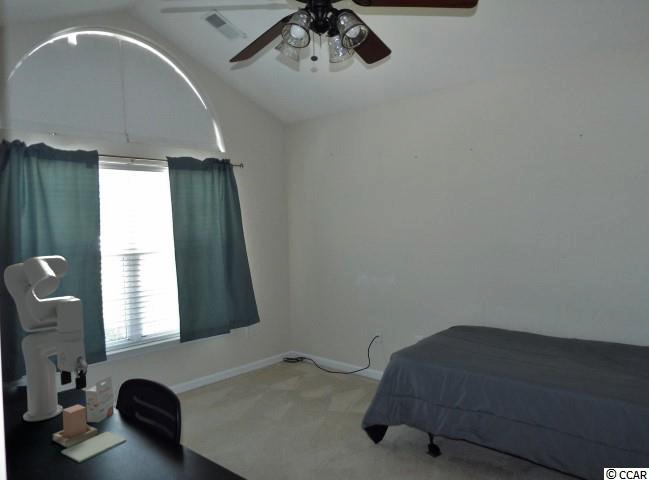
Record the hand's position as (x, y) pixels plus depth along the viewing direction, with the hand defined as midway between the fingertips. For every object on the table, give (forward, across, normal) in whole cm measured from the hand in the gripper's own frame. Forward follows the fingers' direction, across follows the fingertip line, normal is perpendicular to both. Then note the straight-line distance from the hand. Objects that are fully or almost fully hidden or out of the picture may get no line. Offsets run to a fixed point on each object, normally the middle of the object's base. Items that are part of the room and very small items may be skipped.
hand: (73, 386), depth 144 cm
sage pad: (+18, +11, 0) cm, 21 cm away
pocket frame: (+18, -1, 0) cm, 18 cm away
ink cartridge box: (+18, -9, +13) cm, 24 cm away
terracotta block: (+18, -1, 0) cm, 18 cm away
